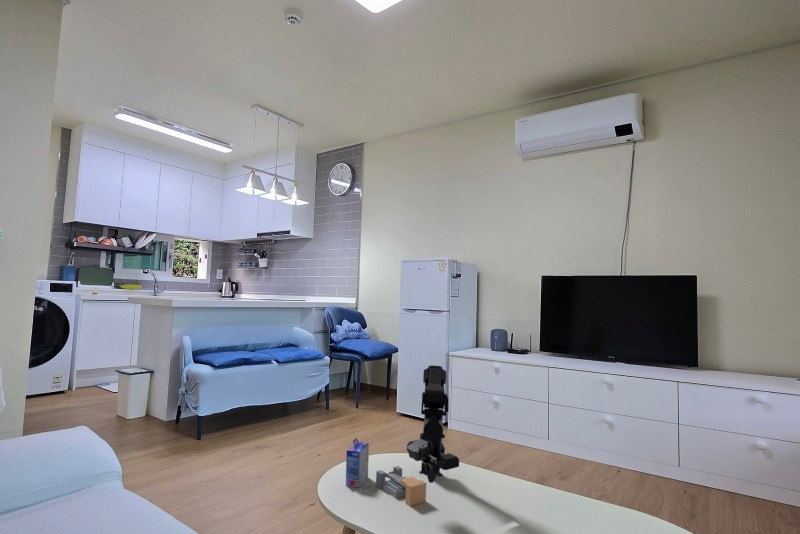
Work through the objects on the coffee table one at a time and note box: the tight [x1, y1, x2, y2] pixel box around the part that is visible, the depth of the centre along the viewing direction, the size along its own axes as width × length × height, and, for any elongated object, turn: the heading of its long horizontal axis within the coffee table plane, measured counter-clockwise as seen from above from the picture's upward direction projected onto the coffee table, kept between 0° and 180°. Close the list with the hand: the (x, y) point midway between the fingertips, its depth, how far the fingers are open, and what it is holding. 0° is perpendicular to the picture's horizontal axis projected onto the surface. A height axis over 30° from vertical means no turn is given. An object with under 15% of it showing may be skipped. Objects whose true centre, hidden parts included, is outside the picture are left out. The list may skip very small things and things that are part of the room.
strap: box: [385, 470, 406, 488], centre depth 146 cm, size 3×13×1 cm, turn 36°
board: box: [362, 465, 408, 499], centre depth 143 cm, size 18×23×6 cm
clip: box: [400, 476, 427, 507], centre depth 140 cm, size 6×6×6 cm
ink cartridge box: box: [345, 437, 370, 489], centre depth 155 cm, size 10×6×14 cm, turn 165°
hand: (430, 482), depth 133 cm, fingers closed
